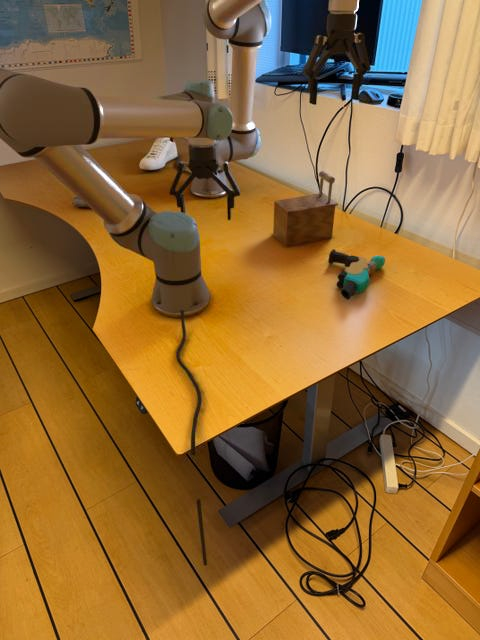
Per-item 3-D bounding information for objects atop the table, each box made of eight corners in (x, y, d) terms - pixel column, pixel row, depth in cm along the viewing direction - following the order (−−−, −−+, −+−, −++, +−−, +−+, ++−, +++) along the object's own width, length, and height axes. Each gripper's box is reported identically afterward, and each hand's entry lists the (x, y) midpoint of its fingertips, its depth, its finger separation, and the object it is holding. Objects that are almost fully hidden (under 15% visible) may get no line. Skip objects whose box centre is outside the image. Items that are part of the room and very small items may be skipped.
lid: (322, 195, 156) (325, 168, 151) (337, 205, 149) (340, 178, 144) (274, 203, 151) (275, 176, 146) (287, 214, 144) (288, 186, 139)
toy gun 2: (307, 279, 125) (363, 294, 119) (338, 241, 143) (388, 251, 138) (306, 294, 127) (360, 308, 122) (336, 254, 146) (385, 265, 140)
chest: (317, 226, 163) (320, 195, 156) (331, 237, 155) (335, 206, 149) (273, 234, 158) (274, 203, 151) (285, 246, 150) (287, 214, 144)
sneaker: (133, 173, 208) (129, 144, 201) (161, 153, 230) (158, 127, 223) (155, 175, 205) (151, 146, 198) (180, 155, 227) (178, 129, 220)
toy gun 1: (130, 197, 185) (114, 212, 174) (86, 194, 188) (67, 209, 177) (128, 187, 183) (112, 202, 171) (84, 184, 186) (65, 199, 174)
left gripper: (249, 140, 130) (249, 213, 142) (159, 139, 131) (167, 211, 144) (247, 148, 124) (247, 224, 136) (153, 147, 125) (162, 222, 138)
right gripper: (374, 10, 129) (363, 95, 141) (292, 13, 121) (288, 102, 134) (391, 11, 123) (378, 100, 136) (306, 15, 116) (300, 108, 128)
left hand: (206, 217), depth 140 cm, fingers open, 13 cm apart
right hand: (333, 101), depth 135 cm, fingers open, 13 cm apart
